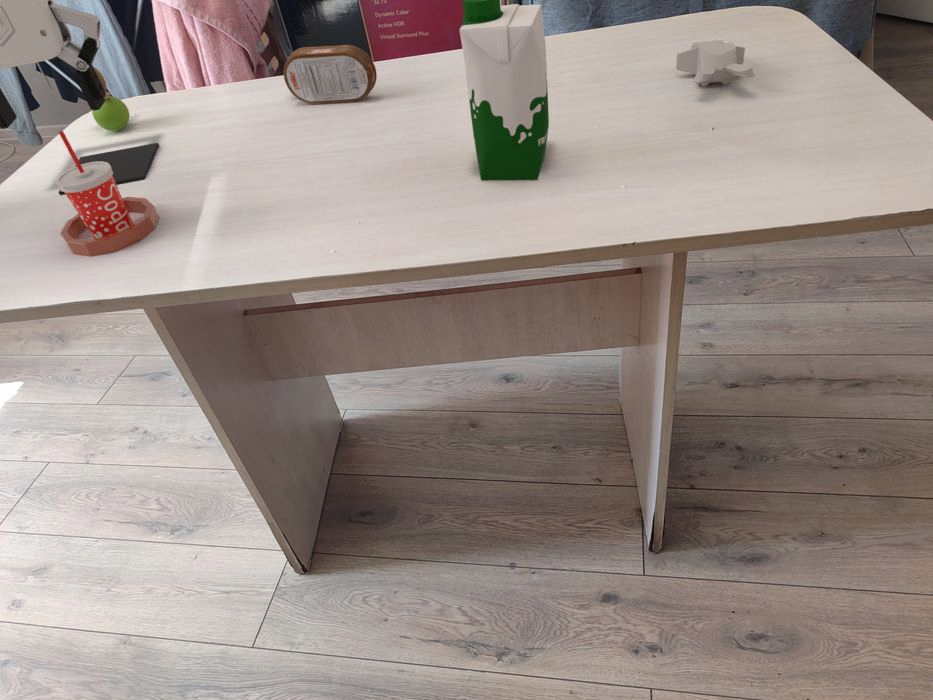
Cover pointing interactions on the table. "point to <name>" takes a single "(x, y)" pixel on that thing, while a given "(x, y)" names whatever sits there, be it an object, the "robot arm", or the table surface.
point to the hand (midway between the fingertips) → (54, 114)
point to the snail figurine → (111, 111)
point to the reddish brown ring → (115, 240)
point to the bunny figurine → (714, 62)
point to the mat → (125, 162)
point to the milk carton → (506, 87)
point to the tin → (330, 74)
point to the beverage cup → (94, 195)
